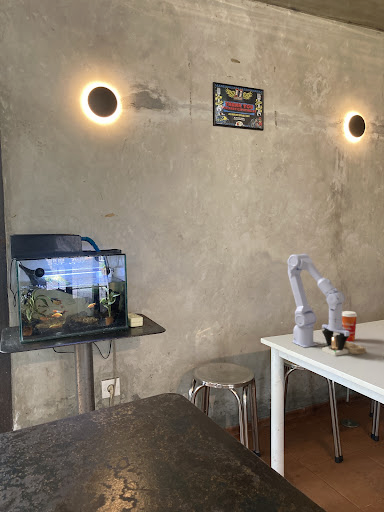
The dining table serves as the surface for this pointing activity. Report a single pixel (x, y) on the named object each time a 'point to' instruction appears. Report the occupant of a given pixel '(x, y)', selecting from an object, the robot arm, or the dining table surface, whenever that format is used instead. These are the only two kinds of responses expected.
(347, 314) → the paper cup
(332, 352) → the white square frame
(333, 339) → the battery cell
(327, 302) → the robot arm
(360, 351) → the wooden trough
